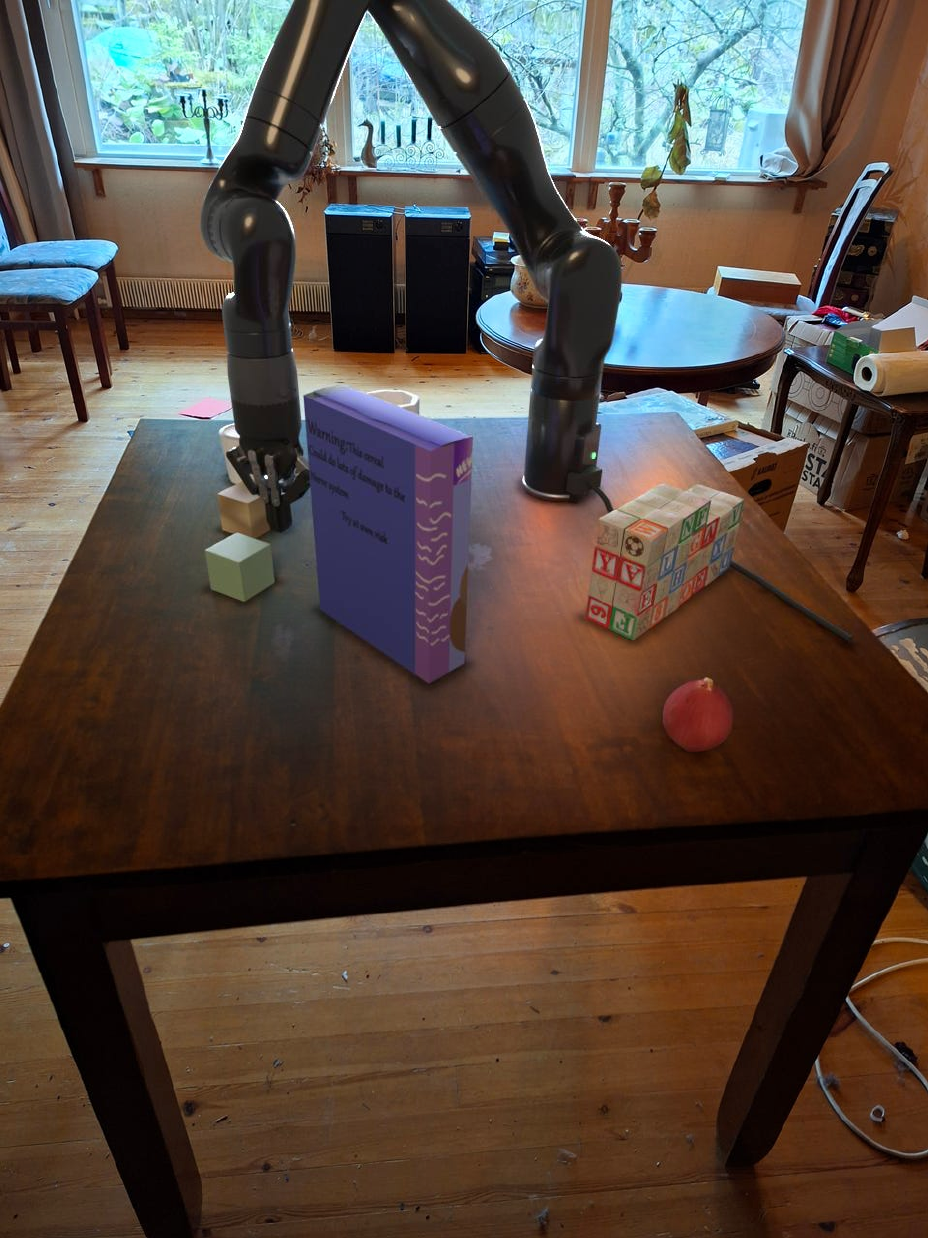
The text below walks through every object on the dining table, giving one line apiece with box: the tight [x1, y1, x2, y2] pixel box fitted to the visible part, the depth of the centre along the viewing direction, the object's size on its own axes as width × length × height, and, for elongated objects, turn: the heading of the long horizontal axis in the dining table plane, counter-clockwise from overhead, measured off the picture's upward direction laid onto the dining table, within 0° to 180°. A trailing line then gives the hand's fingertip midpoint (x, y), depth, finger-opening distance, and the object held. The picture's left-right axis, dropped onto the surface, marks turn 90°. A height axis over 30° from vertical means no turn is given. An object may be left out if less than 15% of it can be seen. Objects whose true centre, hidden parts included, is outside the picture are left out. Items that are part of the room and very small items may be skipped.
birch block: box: [216, 481, 271, 539], centre depth 104 cm, size 5×5×5 cm
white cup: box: [218, 423, 255, 485], centre depth 116 cm, size 7×7×7 cm
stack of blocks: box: [585, 482, 745, 641], centre depth 92 cm, size 21×6×12 cm, turn 138°
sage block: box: [204, 533, 275, 603], centre depth 92 cm, size 5×5×5 cm
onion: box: [662, 677, 734, 753], centre depth 71 cm, size 6×6×8 cm
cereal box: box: [302, 384, 474, 686], centre depth 79 cm, size 17×5×24 cm, turn 44°
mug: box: [365, 389, 420, 415], centre depth 119 cm, size 12×9×10 cm
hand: (280, 528), depth 102 cm, fingers closed
